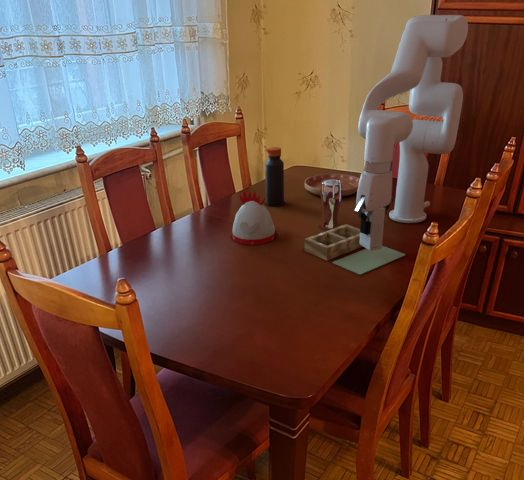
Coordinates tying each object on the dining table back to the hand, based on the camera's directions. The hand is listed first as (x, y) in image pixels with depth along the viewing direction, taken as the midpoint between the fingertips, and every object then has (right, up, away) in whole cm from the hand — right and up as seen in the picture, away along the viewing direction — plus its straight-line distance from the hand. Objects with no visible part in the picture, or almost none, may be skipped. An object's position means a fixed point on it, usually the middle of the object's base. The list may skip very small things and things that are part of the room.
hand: (371, 230), depth 155 cm
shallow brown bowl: (-3, +29, +60) cm, 67 cm away
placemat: (0, -7, +5) cm, 9 cm away
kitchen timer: (-34, +3, +22) cm, 41 cm away
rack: (-8, -3, +13) cm, 15 cm away
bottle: (-27, +21, +49) cm, 59 cm away
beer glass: (-9, +7, +27) cm, 30 cm away
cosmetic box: (0, -4, +3) cm, 5 cm away
